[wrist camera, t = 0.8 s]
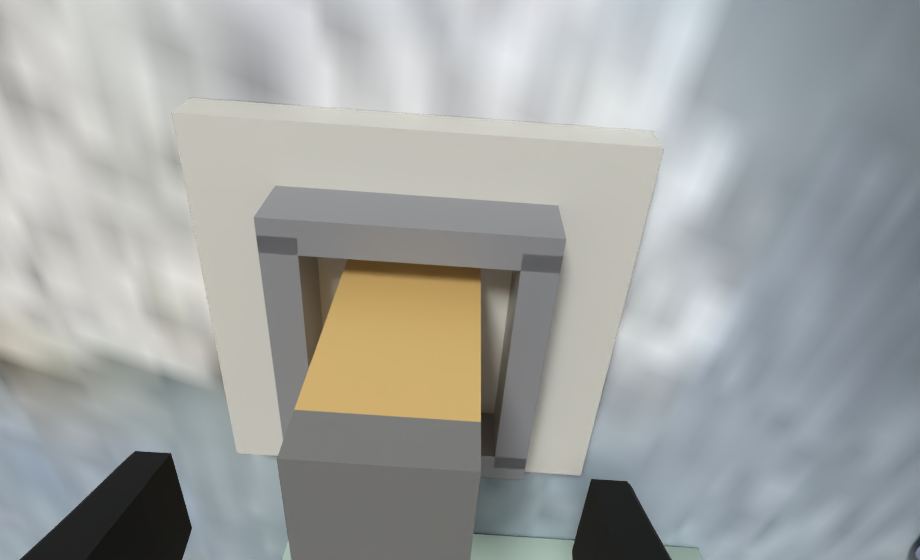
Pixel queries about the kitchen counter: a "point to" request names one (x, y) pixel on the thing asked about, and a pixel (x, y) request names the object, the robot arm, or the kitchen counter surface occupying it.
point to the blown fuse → (389, 419)
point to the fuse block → (419, 252)
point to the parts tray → (536, 549)
